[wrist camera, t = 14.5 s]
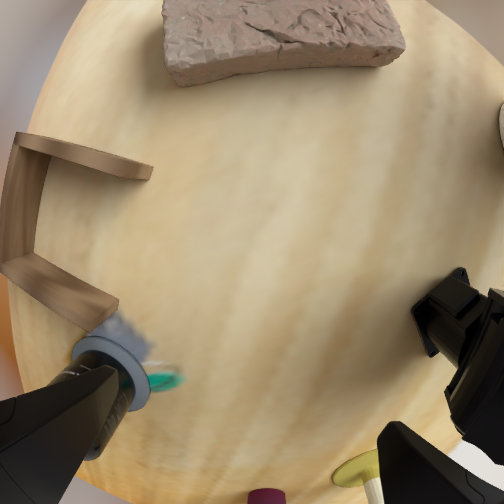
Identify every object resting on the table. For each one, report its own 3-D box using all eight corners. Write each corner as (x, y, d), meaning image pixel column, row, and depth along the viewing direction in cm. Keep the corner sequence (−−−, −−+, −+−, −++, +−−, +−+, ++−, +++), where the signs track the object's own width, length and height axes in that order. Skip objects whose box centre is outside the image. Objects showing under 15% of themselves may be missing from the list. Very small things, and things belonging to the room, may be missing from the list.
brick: (178, 94, 17) (157, 69, 13) (171, 17, 16) (154, -12, 11) (387, 73, 16) (413, 50, 12) (358, 0, 15) (373, -28, 10)
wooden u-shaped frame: (153, 166, 18) (124, 160, 14) (117, 309, 21) (89, 332, 16) (49, 137, 18) (16, 131, 14) (26, 258, 20) (-4, 269, 16)
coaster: (168, 394, 22) (167, 398, 22) (115, 415, 24) (113, 418, 23) (105, 320, 21) (101, 323, 21) (61, 354, 22) (59, 357, 22)
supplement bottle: (97, 334, 21) (15, 414, 9) (151, 387, 22) (98, 486, 10) (70, 365, 22) (4, 432, 10) (116, 410, 23) (68, 489, 11)
